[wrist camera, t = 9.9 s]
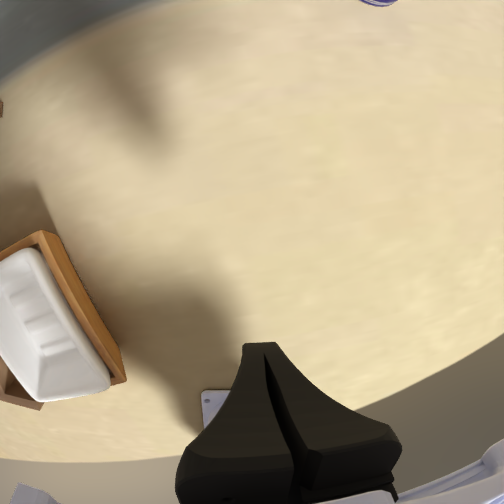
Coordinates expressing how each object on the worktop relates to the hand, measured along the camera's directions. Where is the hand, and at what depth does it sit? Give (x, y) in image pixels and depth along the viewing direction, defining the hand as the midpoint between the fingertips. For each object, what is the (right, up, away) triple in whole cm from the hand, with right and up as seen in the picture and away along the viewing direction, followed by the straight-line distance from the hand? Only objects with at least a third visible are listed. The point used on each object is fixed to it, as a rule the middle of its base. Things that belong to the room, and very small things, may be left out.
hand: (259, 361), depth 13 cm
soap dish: (-16, 0, +10) cm, 19 cm away
